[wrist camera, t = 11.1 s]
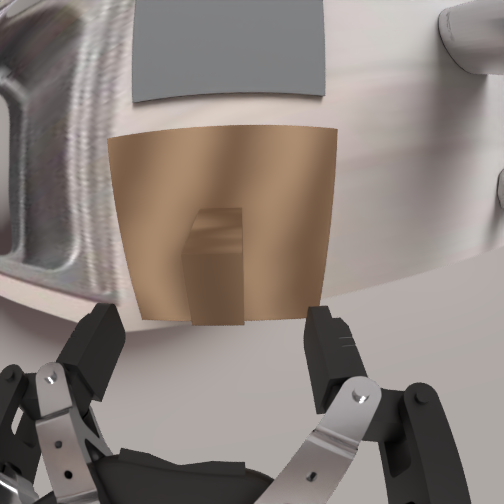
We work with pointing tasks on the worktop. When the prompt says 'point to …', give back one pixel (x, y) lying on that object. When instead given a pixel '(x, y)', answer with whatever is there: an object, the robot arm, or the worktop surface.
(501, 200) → the flask
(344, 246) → the worktop surface
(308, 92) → the mat
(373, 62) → the worktop surface
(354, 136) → the worktop surface
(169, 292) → the lid
